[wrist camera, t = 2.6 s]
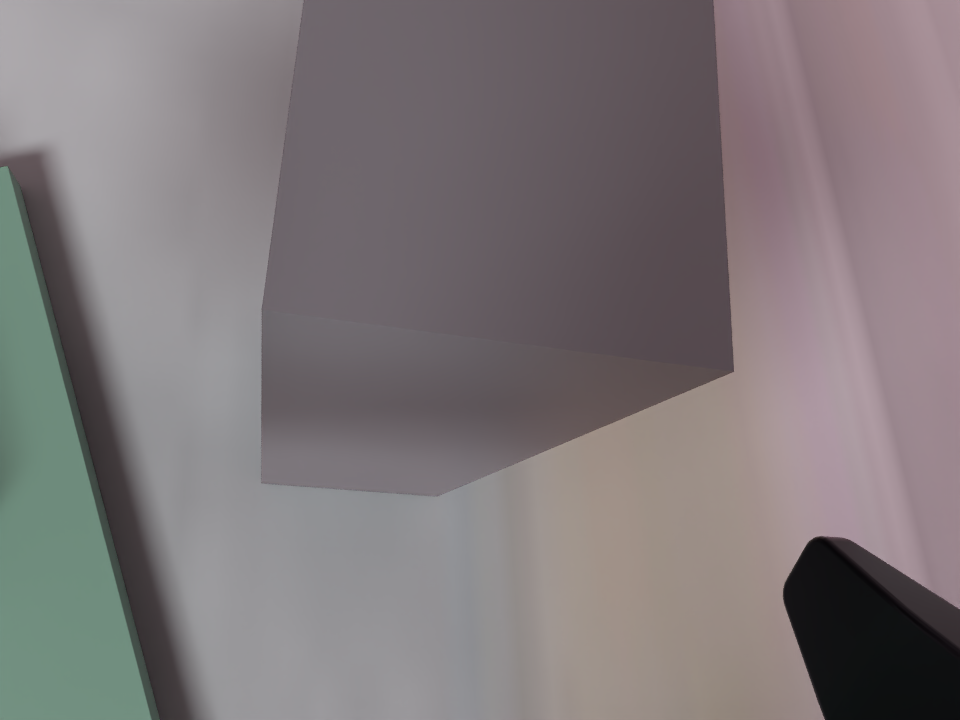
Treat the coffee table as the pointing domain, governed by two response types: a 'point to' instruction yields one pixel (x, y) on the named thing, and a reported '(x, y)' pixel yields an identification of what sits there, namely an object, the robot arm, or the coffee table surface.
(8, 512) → the board
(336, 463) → the plug
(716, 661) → the coffee table surface
